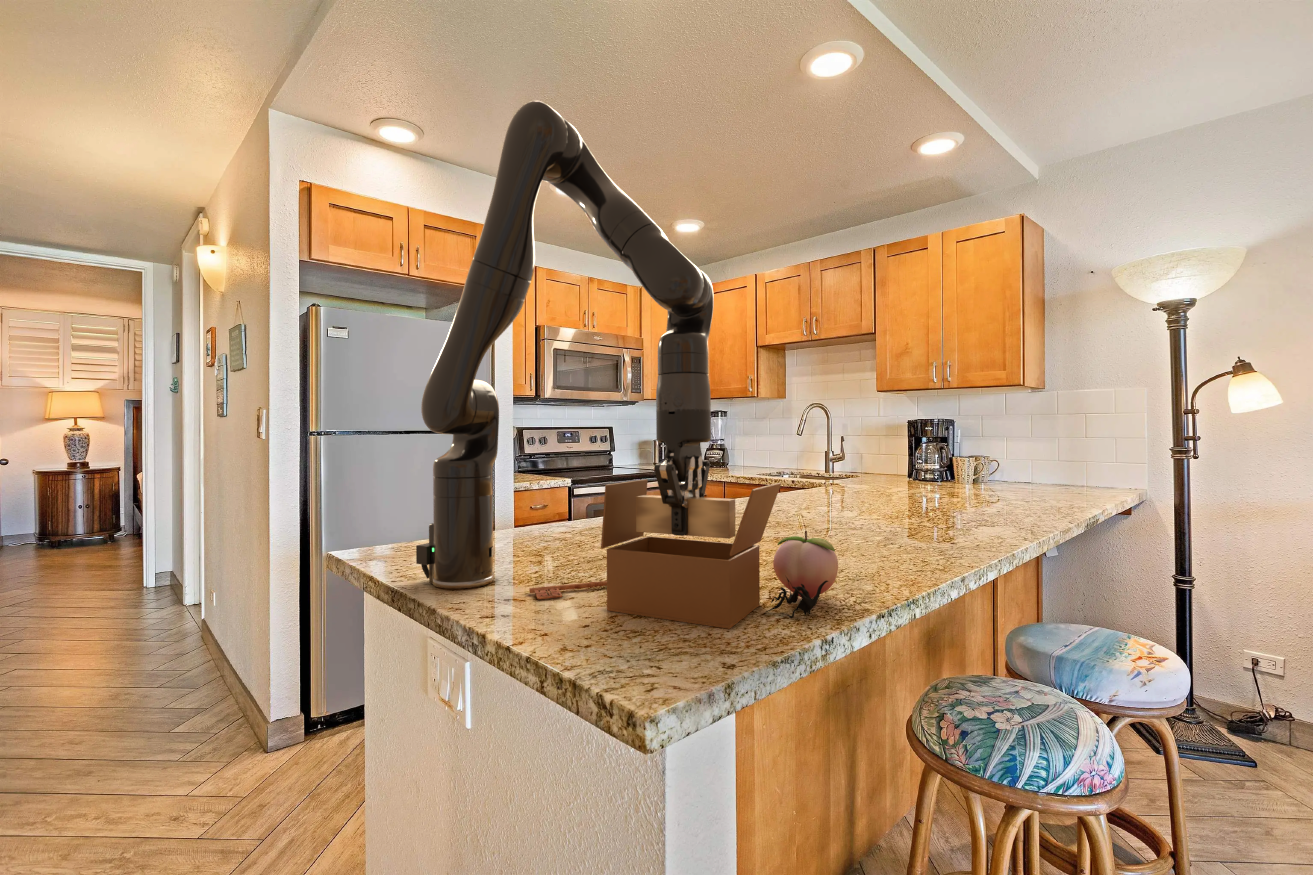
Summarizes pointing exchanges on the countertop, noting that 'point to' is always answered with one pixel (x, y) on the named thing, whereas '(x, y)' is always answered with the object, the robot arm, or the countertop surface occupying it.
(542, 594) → the key
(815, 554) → the decorative fruit
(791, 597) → the creature
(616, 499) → the carton
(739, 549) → the flap
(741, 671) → the countertop surface
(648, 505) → the tan wooden block
